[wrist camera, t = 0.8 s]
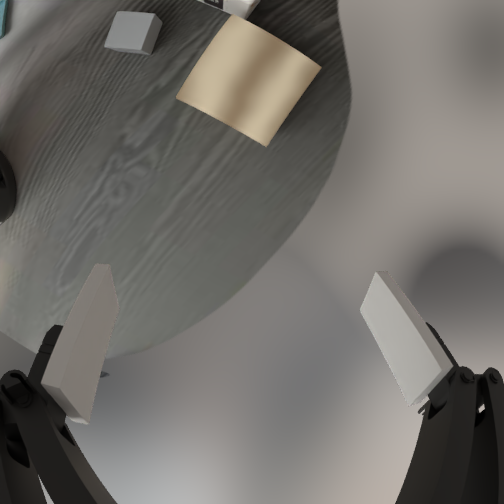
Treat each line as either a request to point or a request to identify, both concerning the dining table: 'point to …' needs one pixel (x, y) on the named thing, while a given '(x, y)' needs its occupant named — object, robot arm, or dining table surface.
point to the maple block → (248, 79)
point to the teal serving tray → (3, 16)
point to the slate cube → (133, 32)
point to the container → (234, 6)
